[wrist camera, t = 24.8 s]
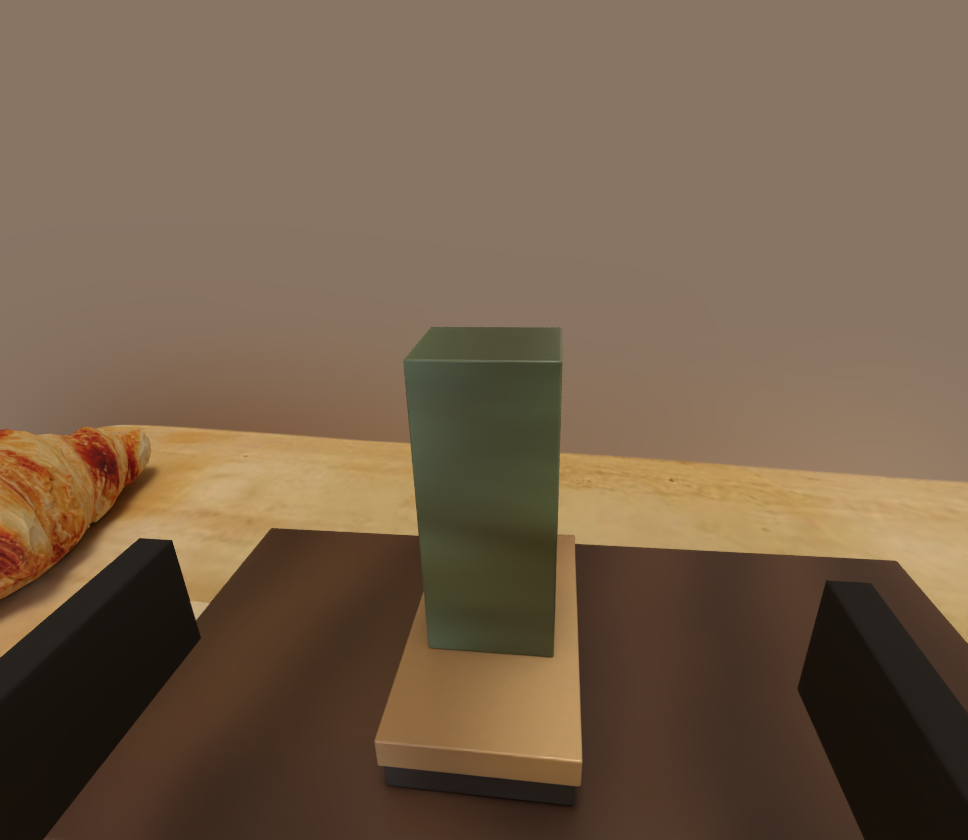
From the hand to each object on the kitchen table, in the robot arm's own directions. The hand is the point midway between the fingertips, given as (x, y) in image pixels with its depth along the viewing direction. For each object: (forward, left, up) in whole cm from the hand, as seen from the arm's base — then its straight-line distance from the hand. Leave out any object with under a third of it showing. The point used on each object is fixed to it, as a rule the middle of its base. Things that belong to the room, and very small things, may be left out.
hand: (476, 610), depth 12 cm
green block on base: (0, -5, -6) cm, 8 cm away
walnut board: (-2, -5, -8) cm, 9 cm away
